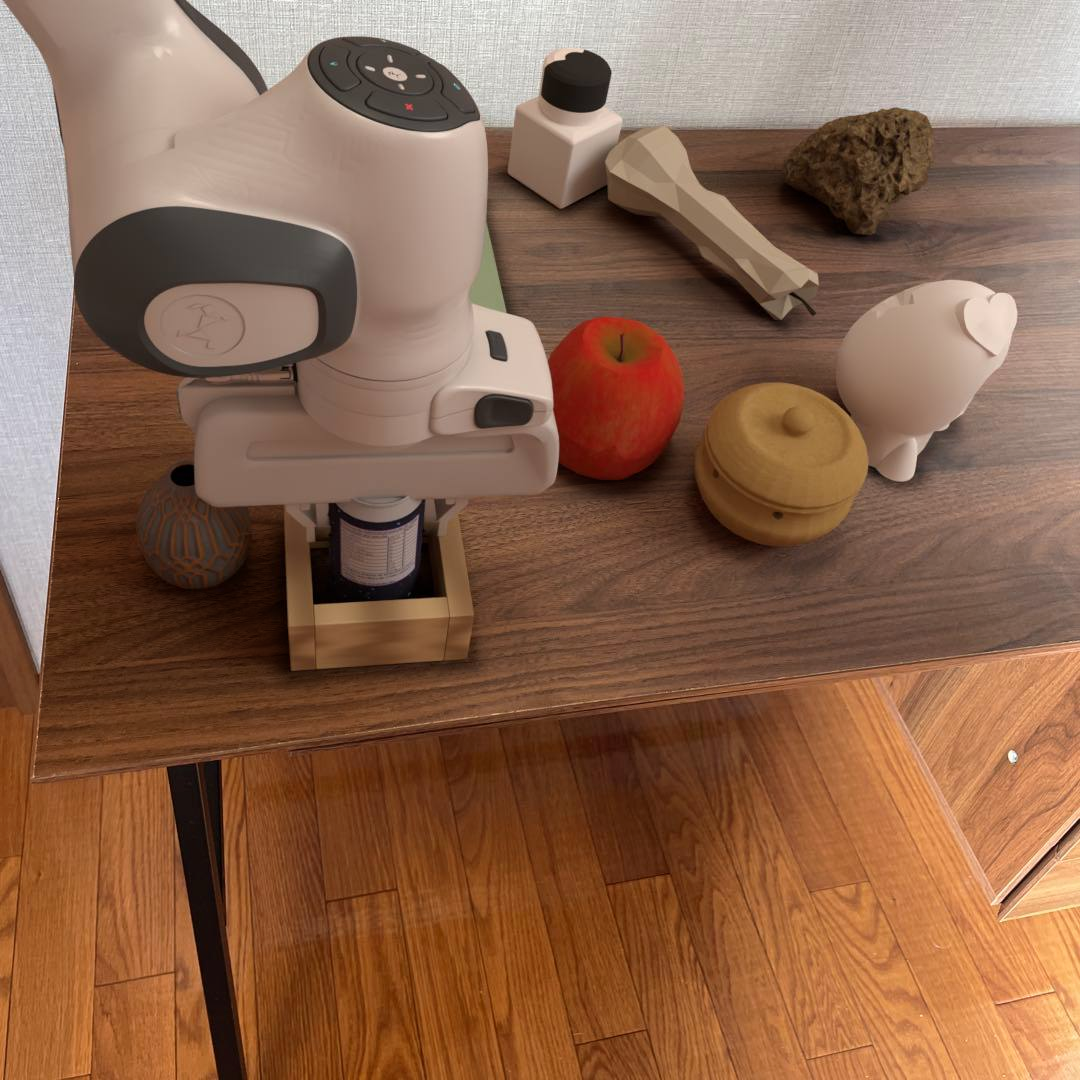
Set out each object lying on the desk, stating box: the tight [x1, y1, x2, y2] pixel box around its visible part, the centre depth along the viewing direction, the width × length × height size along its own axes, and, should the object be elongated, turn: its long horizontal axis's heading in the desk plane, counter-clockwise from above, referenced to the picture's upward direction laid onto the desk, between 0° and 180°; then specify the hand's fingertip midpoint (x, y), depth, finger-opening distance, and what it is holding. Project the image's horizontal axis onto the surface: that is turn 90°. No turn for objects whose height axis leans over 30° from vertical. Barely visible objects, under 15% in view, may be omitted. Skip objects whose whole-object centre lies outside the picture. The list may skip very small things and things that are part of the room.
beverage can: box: [328, 496, 426, 603], centre depth 68 cm, size 6×6×12 cm
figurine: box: [835, 279, 1018, 483], centre depth 84 cm, size 11×11×15 cm
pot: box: [693, 381, 869, 547], centre depth 79 cm, size 12×12×10 cm
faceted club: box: [605, 124, 820, 321], centre depth 98 cm, size 9×8×25 cm
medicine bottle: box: [507, 47, 623, 210], centre depth 101 cm, size 7×7×12 cm
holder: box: [283, 505, 475, 672], centre depth 71 cm, size 11×11×5 cm
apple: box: [547, 316, 686, 481], centre depth 80 cm, size 11×11×11 cm
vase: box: [135, 459, 253, 590], centre depth 69 cm, size 7×7×9 cm
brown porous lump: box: [781, 107, 935, 236], centre depth 104 cm, size 11×13×15 cm
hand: (376, 530), depth 68 cm, fingers closed on beverage can, 5 cm apart
